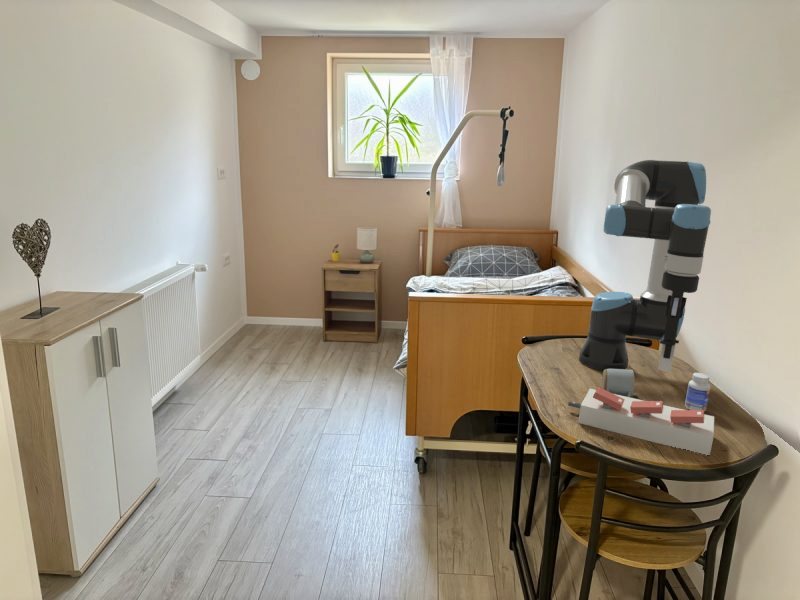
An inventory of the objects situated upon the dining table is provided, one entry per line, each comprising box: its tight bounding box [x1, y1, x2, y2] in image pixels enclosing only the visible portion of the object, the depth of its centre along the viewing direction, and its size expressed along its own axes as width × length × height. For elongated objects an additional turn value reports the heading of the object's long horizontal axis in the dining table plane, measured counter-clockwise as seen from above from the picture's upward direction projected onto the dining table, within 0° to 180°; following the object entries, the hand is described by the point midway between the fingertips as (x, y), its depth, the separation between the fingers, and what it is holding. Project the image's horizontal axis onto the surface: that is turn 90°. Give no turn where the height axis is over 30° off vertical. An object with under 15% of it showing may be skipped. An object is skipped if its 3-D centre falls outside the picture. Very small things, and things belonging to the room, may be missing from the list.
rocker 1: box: [593, 386, 625, 411], centre depth 148 cm, size 4×7×2 cm, turn 62°
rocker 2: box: [630, 400, 664, 414], centre depth 144 cm, size 4×7×2 cm, turn 62°
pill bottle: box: [684, 372, 712, 412], centre depth 160 cm, size 5×5×10 cm
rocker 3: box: [670, 409, 705, 423], centre depth 140 cm, size 4×7×2 cm, turn 62°
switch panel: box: [567, 388, 715, 456], centre depth 148 cm, size 12×34×6 cm, turn 62°
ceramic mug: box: [601, 368, 635, 398], centre depth 166 cm, size 11×8×8 cm
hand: (664, 369), depth 140 cm, fingers closed
